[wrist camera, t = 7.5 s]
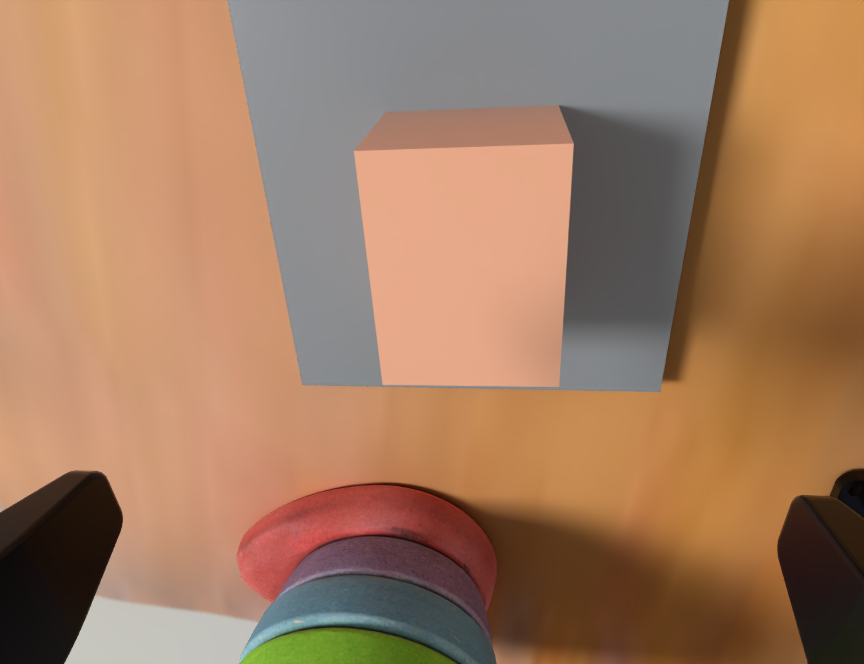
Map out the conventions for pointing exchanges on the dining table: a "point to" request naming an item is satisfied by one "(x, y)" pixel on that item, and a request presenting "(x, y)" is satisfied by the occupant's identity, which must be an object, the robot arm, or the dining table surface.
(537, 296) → the terracotta brick
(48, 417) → the dining table surface
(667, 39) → the baseplate
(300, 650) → the stacking bear
